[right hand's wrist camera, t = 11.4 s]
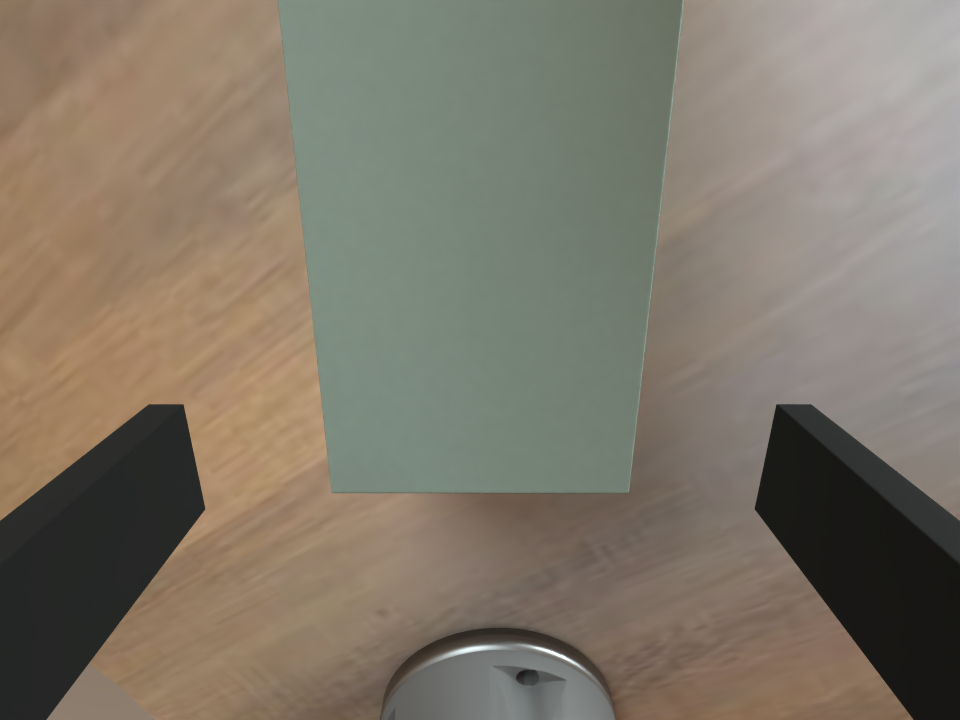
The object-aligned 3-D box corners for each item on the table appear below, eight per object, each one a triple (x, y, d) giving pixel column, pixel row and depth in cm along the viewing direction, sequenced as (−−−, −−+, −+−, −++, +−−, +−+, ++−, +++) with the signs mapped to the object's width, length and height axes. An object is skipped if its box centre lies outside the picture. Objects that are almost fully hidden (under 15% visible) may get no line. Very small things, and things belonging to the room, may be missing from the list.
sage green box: (357, 13, 23) (267, -83, 13) (603, 13, 23) (694, -83, 13) (381, 376, 29) (331, 493, 19) (578, 376, 29) (629, 493, 19)
